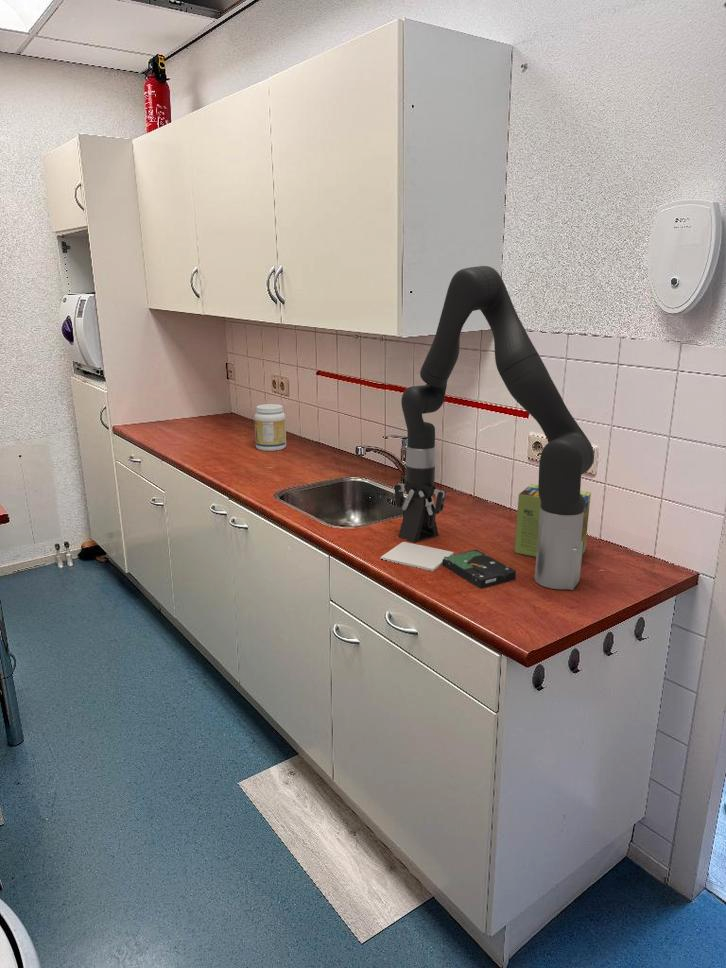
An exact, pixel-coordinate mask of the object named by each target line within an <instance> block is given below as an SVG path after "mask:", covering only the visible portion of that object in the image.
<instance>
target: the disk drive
mask: <svg viewBox="0 0 726 968" xmlns="http://www.w3.org/2000/svg"><path fill="white" fill-rule="evenodd" d="M441 566H443V567H444V568H445V569H447V570H449V571H451V572H452V573H454V574H456V575H458V577H460V578H462V579H463V580H466V581H467V582H469V583H470V584H472V585H473V586H475V587H477V588H479V589H484V588H488V587H492V586H496V585H500V584H501V585H502V584H504V583H508V582H512V581H516V575H517V570H515V569H513V568H512V567H510V566H508V565H506V564H504V563H503V562H500V561H498V560H496V559H494V558H493V557H491V556H489V555H487V554H485V553H484V552H482V551H480V550H478V549H472V550H468V551H465V552H459V554H458V553H457V554H455V555H452V556H449V557H446V556H445V557H444V559H443V560H442V565H441Z"/></svg>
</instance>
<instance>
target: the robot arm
mask: <svg viewBox="0 0 726 968" xmlns="http://www.w3.org/2000/svg"><path fill="white" fill-rule="evenodd" d="M475 311H480V312H481V313H482V314H483V316H484V318H485V320H486V322H487V323H488V326H489V328H490V330H491V332H492V335H493V343H494V360H495V366H496V369H497V371H498V374H499V375H500V377H501V380H502V381H503V384H504V385H505V387H506V389H507V390H508V392H509V393H510V395H511V397H512V398H513V400H515V401H516V403H518V404H519V405H520V406H521V407H522V408H523V409H524V410H525V411H526V412H527V413H528V414H529V415H530V416H531V417H532V418H533V419H534V420H535V421H536V423H537V424H538V425H539V427H540V428H541V430H542V432H543V433H544V436H545V437H546V440H547V444H545V446H543V448H542V450H541V452H540V456H539V465H538V484H537V485H538V492H539V497H540V500H541V505H540V518H539V530H538V542H537V554H536V557H535V568H534V581H535V582H536V583H537V584H538V585H540V586H542V587H545V588H547V589H552V590H553V589H554V590H571V591H573V590H574V589H575V587H576V586H577V585H578V583H579V582H580V579H581V578H580V577H581V569H582V568H581V567H582V558H583V555H582V550H583V541H581V537H582V526H583V516H584V508H585V499H584V497H583V496H581V494H580V491H581V486H582V485H581V483H582V475H583V474H585V473H587V472H588V471H589V470H590V469H591V468H592V466H593V464H594V461H595V450H594V448H593V447H594V446H593V445H592V443H591V442H590V440H589V438H588V437H587V436H586V434H585V433H584V431H583V430H582V428H581V427H580V426H579V424H578V423H577V421H576V419H575V418H574V417H573V415H572V414H571V412H570V410H569V409H568V407H567V405H566V403H565V402H564V400H563V397H562V396H561V394H560V392H559V389H558V388H557V386H556V384H555V383H554V381H553V379H552V377H551V375H550V373H549V371H548V369H547V367H546V365H545V363H544V362H543V359H542V357H541V356H540V353H539V352H538V351H537V349H536V347H535V346H534V344H533V342H532V340H531V338H530V337H529V334H528V333H527V330H526V329H525V327H524V325H523V323H522V321H521V320H520V317H519V315H518V313H517V311H516V308H515V307H514V304H513V302H512V299H511V296H510V294H509V292H508V289H507V287H506V285H505V282H504V279H503V278H502V276H501V275H500V273H499V272H498V271H497V270H496V269H495V268H494V267H491V266H488V265H479V266H472V267H465V268H461V269H459V270H458V271H456V272H455V273H454V275H452V278H451V280H450V282H449V285H448V288H447V291H446V295H445V299H444V303H443V306H442V310H441V313H440V318H439V320H438V325H437V327H436V332H435V335H434V338H433V340H432V343H431V346H430V348H429V350H428V352H427V354H426V357H425V359H424V360H423V364H422V366H421V368H420V371H419V375H420V378H421V380H422V381H423V382H424V383H425V384H423V385H414V386H408V387H406V389H404V391H403V393H402V395H401V402H400V403H401V408H402V409H401V410H402V412H403V413H402V414H403V418H404V421H405V426H406V429H407V438H406V440H407V441H406V442H407V443H406V452H405V453H406V454H405V483H402V482H399V483H396V484H395V485H394V486H393V487H394V495H395V496H394V497H395V506H396V507H397V508H401V509H402V518H403V517H404V514H405V510H406V509H407V507H408V505H409V504H410V502H411V500H412V501H413V497H414V496H417V495H420V497H425V495H426V496H427V497H426V498H425V500H424V504H425V505H426V507H427V511H428V513H429V514H428V525H427V527H428V528H432V527H433V526H434V525H435V522H436V515H438V514H440V513H441V512H443V511H444V505H445V500H446V494H447V491H446V490H445V489H442V490H440V489H438V488H437V487H436V486H435V478H436V476H435V475H436V447H435V446H436V445H435V444H436V427H435V425H434V424H433V423H431V422H427V421H424V417H423V415H424V414H431V413H432V414H433V413H435V412H437V411H439V409H440V408H441V407H442V406H443V404H444V402H445V398H446V391H447V386H448V380H449V378H450V376H451V374H452V372H453V370H454V368H455V365H456V364H457V361H458V359H459V354H460V343H461V341H460V340H461V339H460V338H461V334H462V333H461V332H462V330H463V328H464V325H465V323H466V322H467V320H468V319H469V316H470V315H471V314H472V313H473V312H475ZM404 491H405V492H406V494H407V496H406V497H404ZM433 495H435V499H436V502H435V501H434V498H433ZM430 497H431V498H432V502H428V500H429V499H430ZM431 506H432V508H431Z"/></svg>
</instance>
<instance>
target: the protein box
mask: <svg viewBox="0 0 726 968" xmlns="http://www.w3.org/2000/svg"><path fill="white" fill-rule="evenodd" d="M580 494H581V496H583V497H584V499H585V508H584V516H583V526H582V537H581V541H583V550H582V556H583V554H584V553H585V552H586V544H587V536H588V526H589V524H588V523H589V515H590V503H591V495H592V492H591V491H586V490H585V491H584V490H580ZM540 505H541V500H540V497H539V492H538V484H534V483H533V484H532V483H531V484H529V485H528V486H527V487H525V489H524V490H522V491H521V492H519V494H518V500H517V515H516V526H515V527H516V528H515V539H514V549H513V550H514V552H513V553H516V554H519V555H520V554H521V555H524V556H530V557H534V558H536V554H537V542H538V530H539V518H540Z"/></svg>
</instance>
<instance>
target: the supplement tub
mask: <svg viewBox="0 0 726 968" xmlns="http://www.w3.org/2000/svg"><path fill="white" fill-rule="evenodd" d="M283 411H284V405H282V404H276V403H272V404H271V403H267V404H260V405H259V404H258V405H257V406H256V413H255V414H254V434H255V435H254V436H255V447H256V449H258V450H260V451H264V452H272V451H273V452H275V451H276V450H277V451H281V450H283V449H285V448H286V447H287V429H286V428H287V427H286V418H287V417H286V414H285V413H284V412H283ZM277 451H276V452H277Z"/></svg>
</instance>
